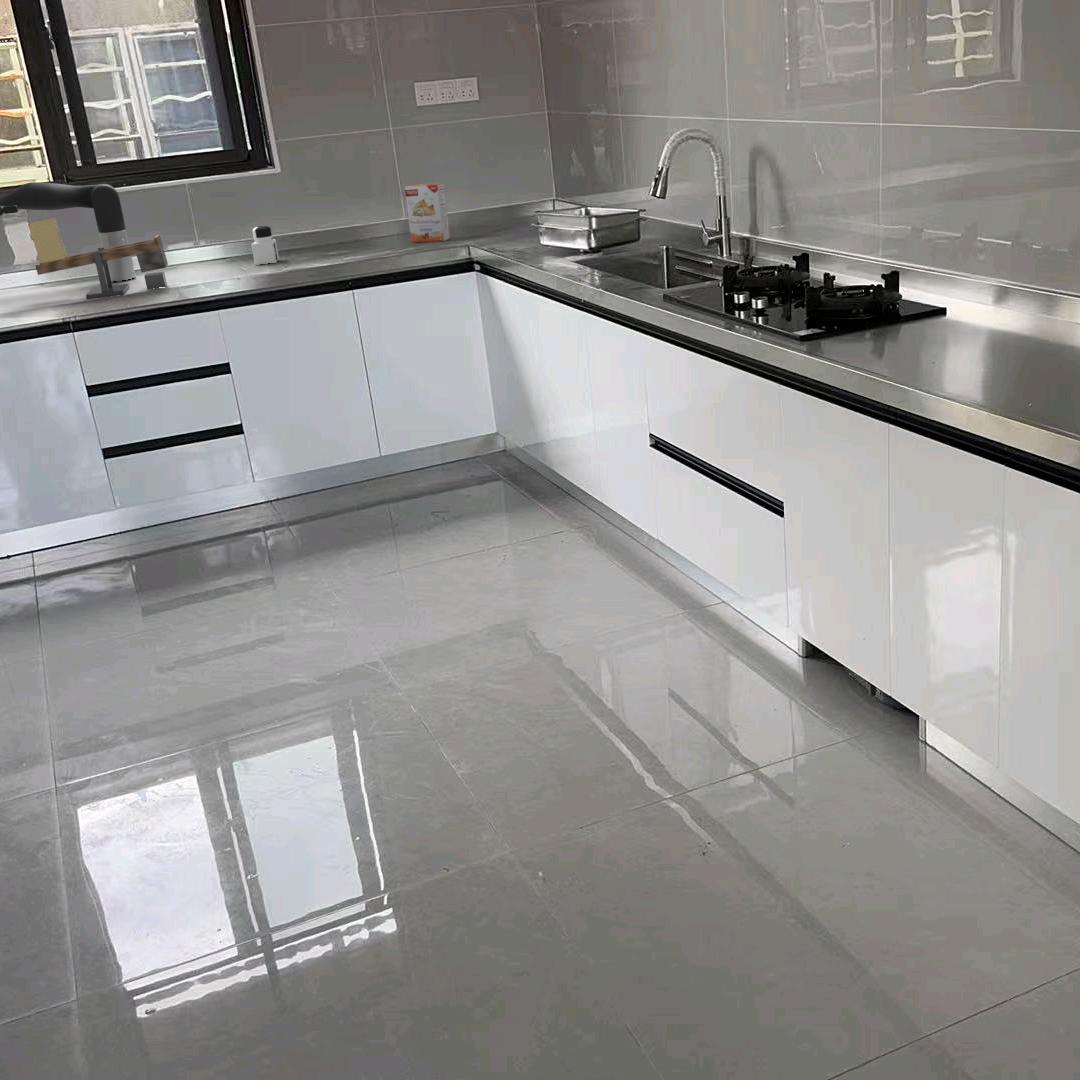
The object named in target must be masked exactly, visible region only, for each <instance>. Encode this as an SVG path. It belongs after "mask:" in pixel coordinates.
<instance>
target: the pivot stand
mask: <svg viewBox="0 0 1080 1080" xmlns="http://www.w3.org/2000/svg"><path fill="white" fill-rule="evenodd" d="M103 249H105V248H104V247H103V248H102V247H98V248H97V251H98V250H103ZM92 252H93V251H92ZM93 254H94V258H95V263H96V264H95V263H94V264H95V267H96V271H97V272H96V273H97V275H98V279H99V280H98V281H99V284H100V286H98V287H92V288H91V289H90V290H89V291H88V292H87V293H86V294H85V298H86V300H96V299H101V298H102V299H103V298H110V297H111V296H112V297H118V296H117V295H120V296H124V295H125V294H126V293H127V292H128V291H129V289H130V288H131V287H130V284H129V283H122V284H121V283H120V284H113V282H112V280H111V275H110V271H109V266H108V262H107V263H106V264H105V265H104V266H103V263H102V258H101V253H100V251H98V252H93ZM143 277H144V281H145V285H146V286H145V287H146V290H147V289H153V288H159V287H166V288H167V286H168V284H167V283H168V282H167V278H166V274H165V271H157V272H146V274H145V275H144V276H143ZM166 285H167V286H166ZM153 290H154V289H153ZM112 297H111V298H112Z"/></svg>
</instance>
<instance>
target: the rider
mask: <svg viewBox="0 0 1080 1080" xmlns="http://www.w3.org/2000/svg"><path fill="white" fill-rule="evenodd" d="M27 227H28V229H29V232H30V235H31V239H32V242H33V245H34V247H35V251H36V253H37V256H38V259H39V263H41V264H45V263H49V262H54V261H59V260H64V259H69V258H68V257H69V256H68V252H67V250H66V247H65V244H64V241H63V237H62V234H61V231H60V229H59V225H58V222H57V219H56V217H51V218H48V219H43V220H37V221H33V222H32V221H31V222H29V223H27Z"/></svg>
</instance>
